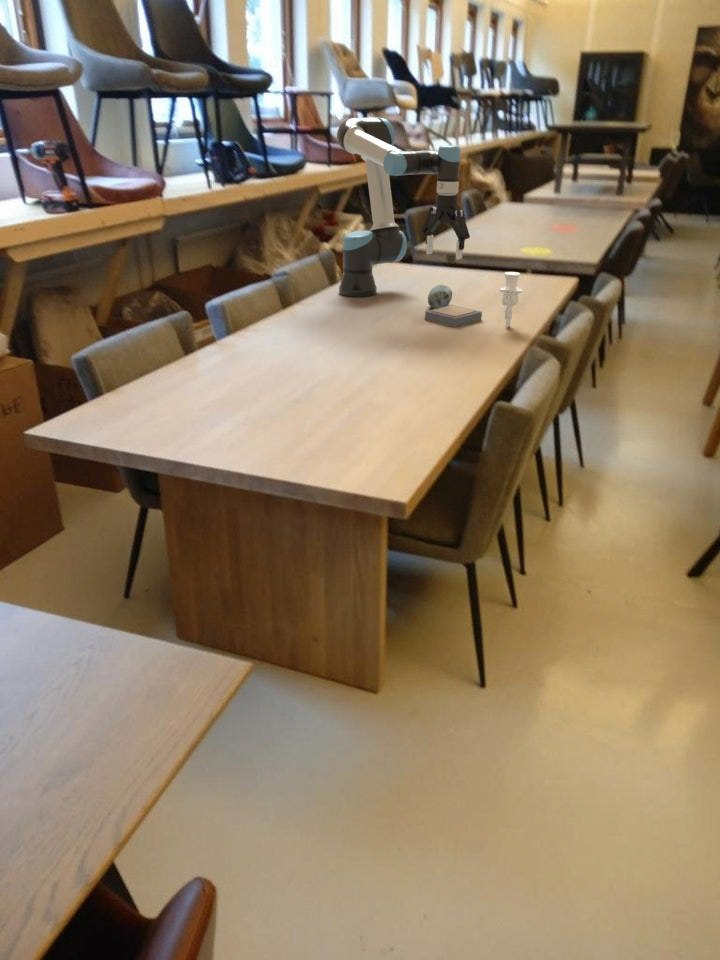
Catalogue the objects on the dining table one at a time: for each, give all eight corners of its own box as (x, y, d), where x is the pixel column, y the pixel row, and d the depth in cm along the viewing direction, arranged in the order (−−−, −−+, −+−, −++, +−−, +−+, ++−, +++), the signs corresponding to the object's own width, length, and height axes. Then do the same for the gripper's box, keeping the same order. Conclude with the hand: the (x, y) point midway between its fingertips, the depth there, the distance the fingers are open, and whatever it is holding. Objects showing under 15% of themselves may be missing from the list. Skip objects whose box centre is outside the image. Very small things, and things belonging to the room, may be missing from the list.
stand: (424, 319, 263) (425, 310, 261) (450, 313, 272) (451, 303, 270) (455, 327, 254) (456, 317, 252) (481, 320, 263) (481, 310, 261)
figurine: (498, 322, 260) (503, 269, 252) (520, 324, 257) (526, 271, 249) (493, 330, 251) (498, 275, 243) (516, 332, 249) (521, 277, 241)
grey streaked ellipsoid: (454, 304, 269) (443, 278, 268) (430, 315, 272) (419, 289, 272) (459, 305, 282) (450, 280, 281) (436, 315, 285) (427, 291, 284)
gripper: (413, 191, 266) (411, 253, 276) (469, 198, 251) (464, 262, 260) (426, 190, 271) (424, 250, 281) (482, 196, 255) (477, 259, 265)
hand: (443, 256), depth 270 cm, fingers open, 13 cm apart
